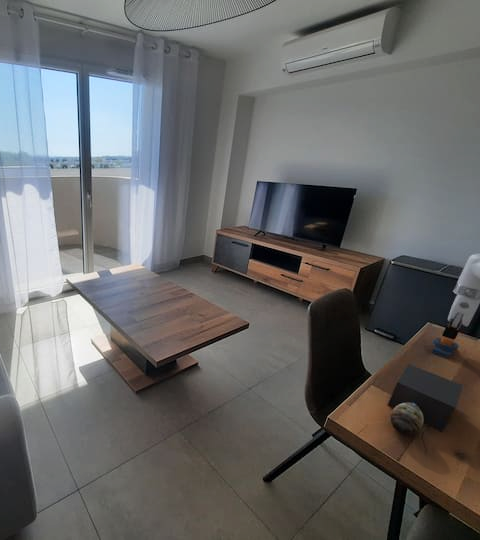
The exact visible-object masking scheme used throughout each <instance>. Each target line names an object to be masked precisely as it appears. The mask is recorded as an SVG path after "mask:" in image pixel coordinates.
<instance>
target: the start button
mask: <svg viewBox="0 0 480 540" xmlns="http://www.w3.org/2000/svg"><path fill="white" fill-rule="evenodd" d="M441 338H442V339H441V341H440V342H441V343H443V344H446V345H451V346H452V345H453V343H454V342H455V340H453V339H450V338H447V337H444V336H442V337H441Z"/></svg>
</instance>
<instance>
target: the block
mask: <svg viewBox="0 0 480 540" xmlns="http://www.w3.org/2000/svg"><path fill="white" fill-rule="evenodd" d="M441 339H442V337H435V338H434V339H433V341H432V345H434V346H433V348H432V350H431V354H434V355H437V356H440V357H442V358H445V359H448V360H449V359H450V358H451V357H452V354H453V352H457V351H458V349H459V346H460V345H459V344H458V343H457V342H455V341H454V343H453V345H452V346H451V345H446V344H443V343H441V342H440V341H441Z"/></svg>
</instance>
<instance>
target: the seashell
mask: <svg viewBox="0 0 480 540" xmlns="http://www.w3.org/2000/svg"><path fill="white" fill-rule="evenodd" d="M423 422H424V419H423V414H422V412H421V410H420V409H419V408H418V406H417V405H416V404H414V403H402V404H399V405H398V406H396V407H395V408H392V410H391V413H390V423H391V425H392V427H393V429H394V430H395V431H396V432H397V433H399V434H402V435H405V436H406V435H407V436H409V435H415V434H416V433H418V432H419V431H420V430H421V429H422V428H423V426H424V423H423Z"/></svg>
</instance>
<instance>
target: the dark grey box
mask: <svg viewBox="0 0 480 540" xmlns="http://www.w3.org/2000/svg"><path fill="white" fill-rule="evenodd" d="M463 386H464V385H463V384H461V383H459V382H456V381H453V380H450V379H448V378H445V377H443V376H440V375H437V374H435V373H432V372H431V371H427V370H425V369H423V368H420V367H417V366H416V365H413V364H411V363H408V364H406V367H405V369H404V370H403V372H402V374H401V375H400V377H399V379H398V380H397V382H396V384H395V387H394V389H393V391H392V393H391V396H390V398H389V400H388V402H387V406H389V407H390V408H392V409H394V408H395V407H396V406H398V405H399V404H402V403H414V404H416V405H417V406H418V408H419V409H420V410H421V412H422V414H423V419H424V422H423V424H425V425H426V426H429V427H431V428H433V429H435V430H437V431H439V432H441V433H443V432H444V430H445V429H446V426H447V425H448V423H449V422H450V420H451V418H452V416H453V414H454V413H455V410H456V409H457V405H458V402H459V399H460V396H461V393H462V389H463Z"/></svg>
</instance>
